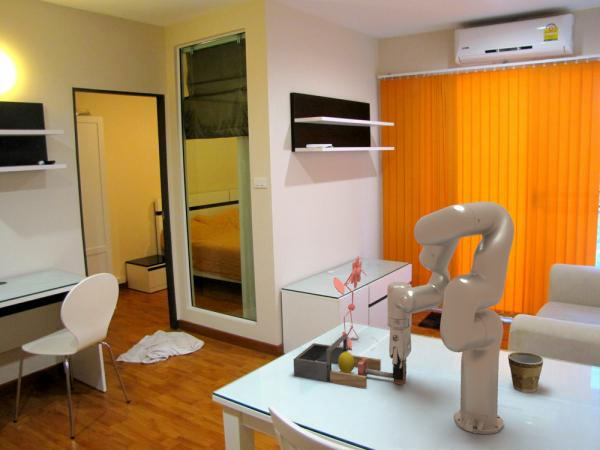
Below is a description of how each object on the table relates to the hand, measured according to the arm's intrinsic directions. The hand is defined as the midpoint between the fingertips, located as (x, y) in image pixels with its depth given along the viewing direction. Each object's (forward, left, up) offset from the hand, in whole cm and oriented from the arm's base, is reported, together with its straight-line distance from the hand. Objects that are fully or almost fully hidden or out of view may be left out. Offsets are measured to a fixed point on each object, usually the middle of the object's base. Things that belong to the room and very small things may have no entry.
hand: (399, 376), depth 168 cm
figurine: (+28, +24, -2) cm, 37 cm away
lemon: (0, +18, -2) cm, 18 cm away
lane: (0, +15, -2) cm, 15 cm away
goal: (0, +27, -2) cm, 27 cm away
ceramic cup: (+12, -36, -2) cm, 38 cm away
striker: (0, +6, -2) cm, 6 cm away
